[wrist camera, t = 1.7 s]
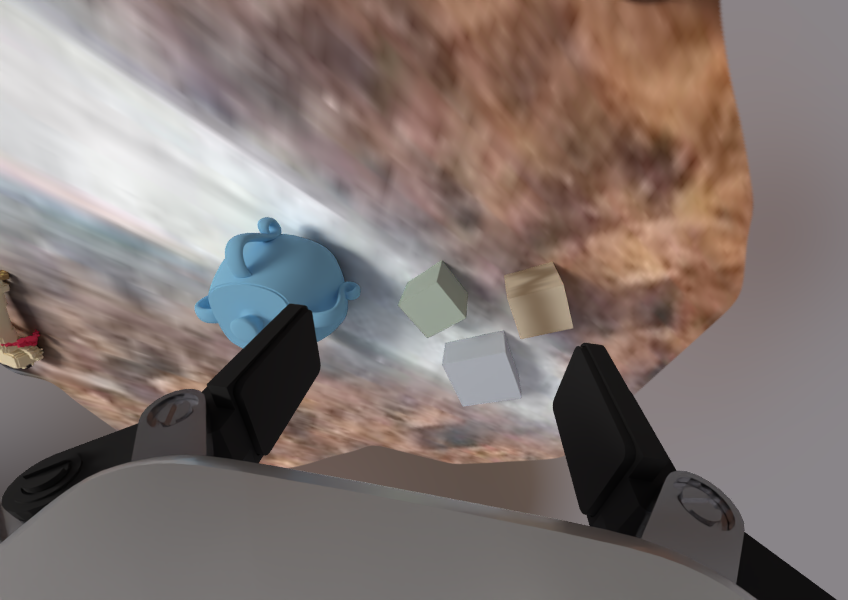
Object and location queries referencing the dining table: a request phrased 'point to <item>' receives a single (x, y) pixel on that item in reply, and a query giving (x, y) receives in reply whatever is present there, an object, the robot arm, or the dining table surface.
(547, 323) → the maple cube
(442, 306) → the sage cube
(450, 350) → the base block
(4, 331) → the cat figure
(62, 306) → the dining table surface
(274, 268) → the decorative pot
